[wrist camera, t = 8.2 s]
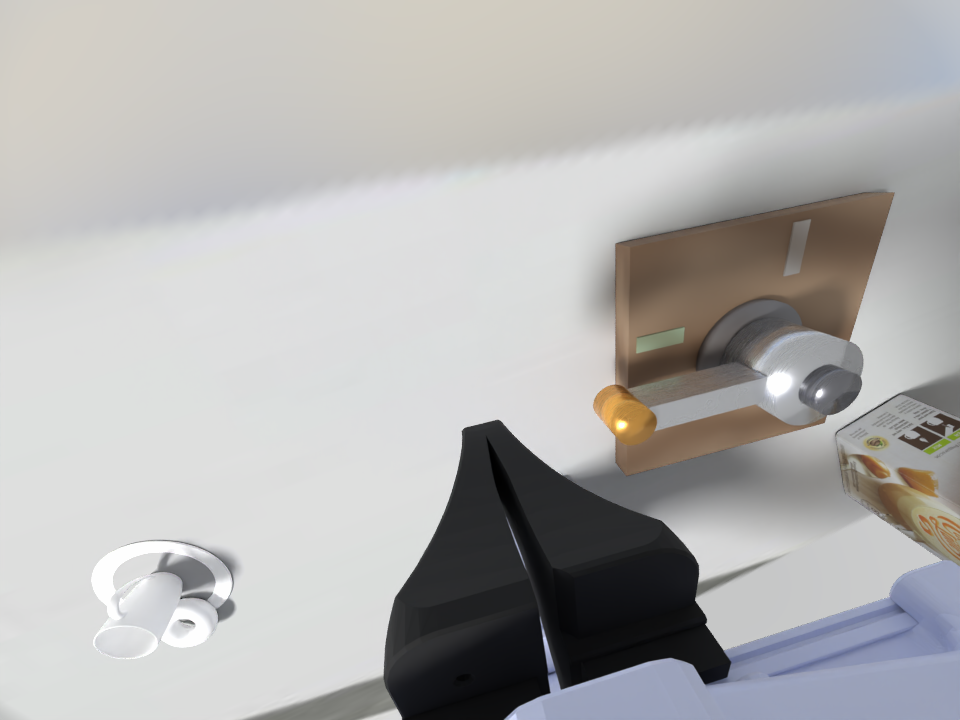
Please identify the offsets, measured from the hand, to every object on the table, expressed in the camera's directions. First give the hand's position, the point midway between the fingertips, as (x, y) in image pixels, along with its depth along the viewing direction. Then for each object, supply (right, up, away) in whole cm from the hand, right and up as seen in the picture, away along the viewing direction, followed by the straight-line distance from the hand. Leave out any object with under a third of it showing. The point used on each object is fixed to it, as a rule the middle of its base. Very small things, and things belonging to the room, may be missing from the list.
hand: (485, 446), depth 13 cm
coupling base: (+16, +4, +12) cm, 21 cm away
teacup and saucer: (-24, -14, +13) cm, 30 cm away
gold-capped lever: (+13, +2, +9) cm, 16 cm away
